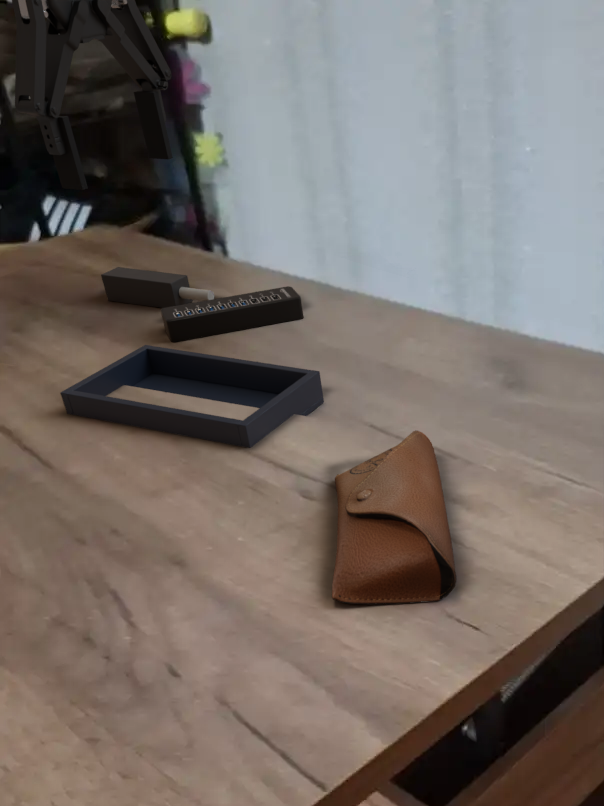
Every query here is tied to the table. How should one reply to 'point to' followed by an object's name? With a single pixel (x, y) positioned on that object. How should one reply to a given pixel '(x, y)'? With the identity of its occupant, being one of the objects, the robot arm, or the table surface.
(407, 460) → the sunglasses case
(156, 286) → the black block with peg
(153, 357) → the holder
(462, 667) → the table surface
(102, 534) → the table surface
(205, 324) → the multiport hub
